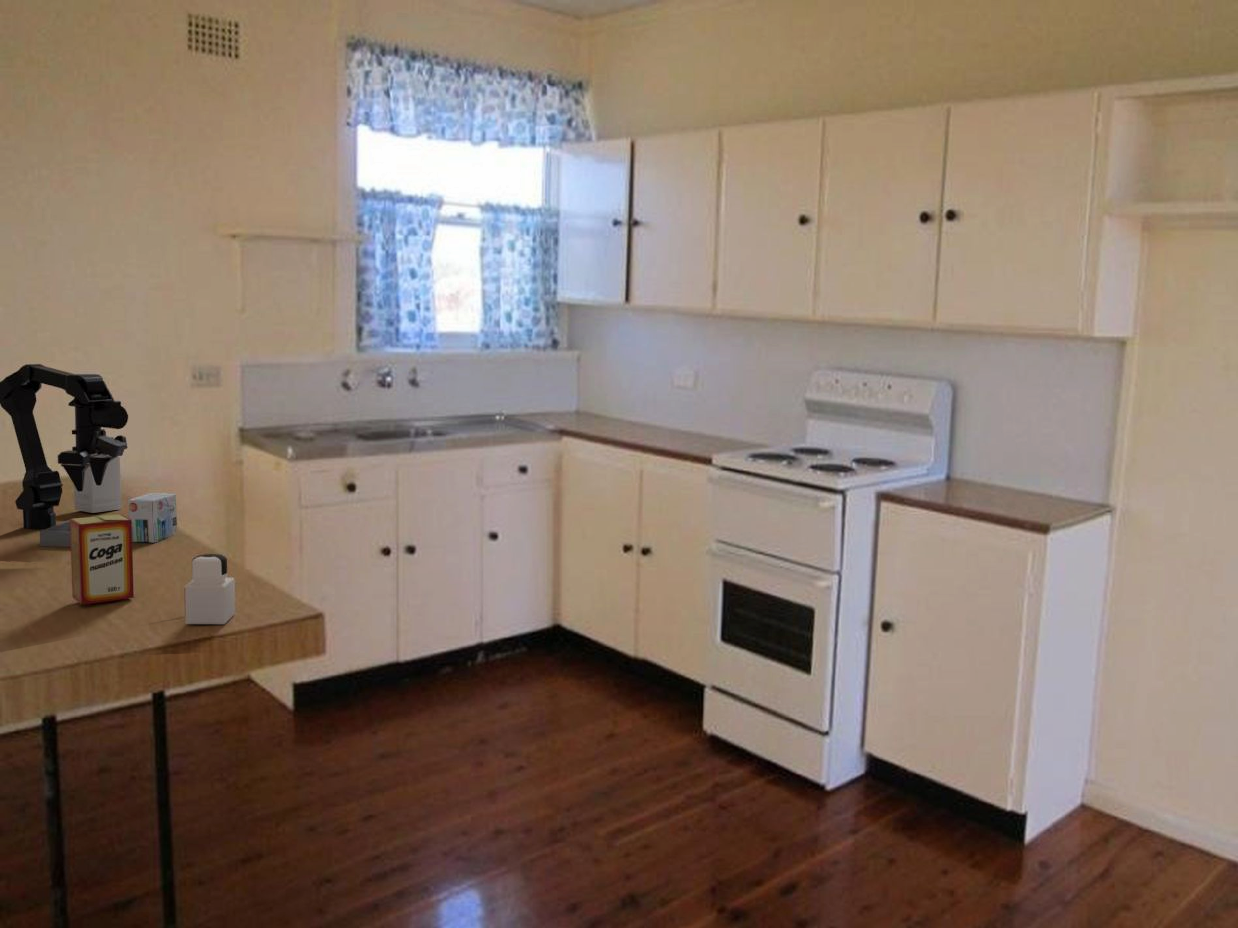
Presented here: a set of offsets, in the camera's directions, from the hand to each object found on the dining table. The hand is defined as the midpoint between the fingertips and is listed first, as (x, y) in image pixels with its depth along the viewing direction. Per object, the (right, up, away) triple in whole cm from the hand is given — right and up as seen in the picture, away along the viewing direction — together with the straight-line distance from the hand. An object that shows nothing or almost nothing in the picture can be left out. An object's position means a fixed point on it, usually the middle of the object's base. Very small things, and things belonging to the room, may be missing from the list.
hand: (89, 488), depth 267 cm
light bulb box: (+17, -6, +4) cm, 19 cm away
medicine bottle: (+55, -23, -67) cm, 90 cm away
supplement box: (-15, -7, +34) cm, 38 cm away
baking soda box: (+30, -20, -55) cm, 66 cm away
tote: (+2, -13, -5) cm, 14 cm away
